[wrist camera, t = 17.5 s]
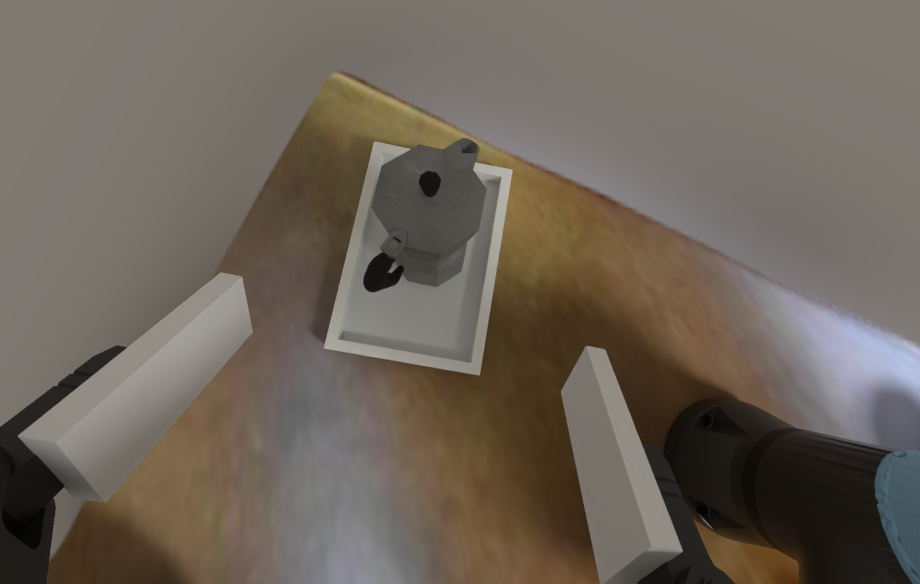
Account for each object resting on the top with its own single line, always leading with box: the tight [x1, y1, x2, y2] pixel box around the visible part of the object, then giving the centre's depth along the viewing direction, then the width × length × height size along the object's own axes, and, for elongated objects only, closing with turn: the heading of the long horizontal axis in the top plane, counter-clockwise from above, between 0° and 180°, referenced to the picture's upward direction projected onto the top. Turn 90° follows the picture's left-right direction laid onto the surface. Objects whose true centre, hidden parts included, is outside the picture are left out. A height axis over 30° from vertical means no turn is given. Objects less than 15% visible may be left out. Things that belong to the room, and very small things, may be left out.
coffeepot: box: [363, 138, 487, 292], centre depth 34 cm, size 15×9×18 cm, turn 147°
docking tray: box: [324, 141, 512, 376], centre depth 42 cm, size 17×25×2 cm
